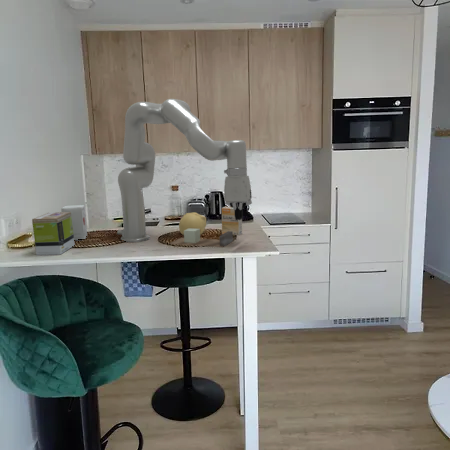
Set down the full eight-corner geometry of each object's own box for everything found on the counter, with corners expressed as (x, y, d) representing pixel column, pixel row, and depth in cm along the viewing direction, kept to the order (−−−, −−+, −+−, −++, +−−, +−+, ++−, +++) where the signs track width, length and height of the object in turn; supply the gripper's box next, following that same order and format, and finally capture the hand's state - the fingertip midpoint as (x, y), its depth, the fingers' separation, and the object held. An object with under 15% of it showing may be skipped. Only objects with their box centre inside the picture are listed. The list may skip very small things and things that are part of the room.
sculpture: (210, 234, 197) (209, 211, 195) (196, 239, 186) (195, 215, 184) (189, 232, 202) (188, 210, 200) (174, 237, 192) (173, 213, 190)
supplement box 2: (221, 236, 190) (220, 207, 188) (225, 234, 195) (224, 206, 192) (239, 237, 187) (238, 208, 185) (242, 235, 192) (242, 206, 189)
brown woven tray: (168, 246, 174) (167, 234, 173) (181, 239, 185) (180, 228, 184) (223, 249, 166) (223, 236, 165) (233, 242, 177) (233, 230, 176)
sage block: (184, 242, 175) (183, 230, 174) (189, 239, 180) (188, 228, 179) (195, 243, 174) (195, 231, 173) (200, 240, 178) (199, 228, 177)
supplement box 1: (84, 240, 191) (81, 207, 188) (63, 241, 189) (60, 208, 186) (87, 236, 199) (85, 204, 197) (67, 237, 198) (64, 205, 195)
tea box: (52, 246, 180) (48, 211, 177) (75, 246, 180) (72, 211, 177) (35, 255, 165) (31, 218, 163) (60, 255, 165) (57, 217, 162)
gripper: (215, 173, 164) (218, 220, 167) (253, 172, 159) (254, 221, 162) (222, 172, 171) (224, 217, 174) (258, 171, 166) (259, 218, 169)
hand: (239, 219), depth 168 cm, fingers closed
